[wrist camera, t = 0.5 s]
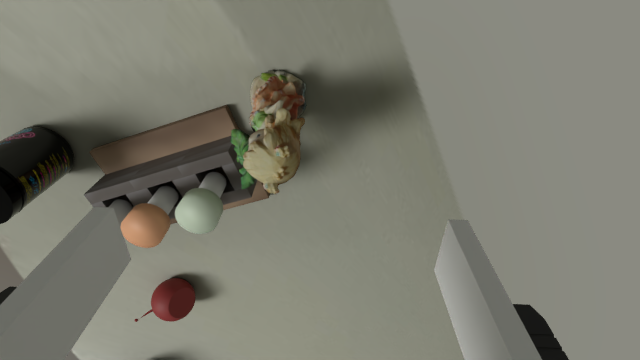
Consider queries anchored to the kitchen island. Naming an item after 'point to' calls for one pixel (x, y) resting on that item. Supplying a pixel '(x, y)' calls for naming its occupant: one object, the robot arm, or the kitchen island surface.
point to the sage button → (202, 205)
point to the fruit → (172, 300)
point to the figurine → (272, 131)
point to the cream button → (121, 209)
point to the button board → (173, 162)
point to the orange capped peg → (150, 219)
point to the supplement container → (30, 167)
